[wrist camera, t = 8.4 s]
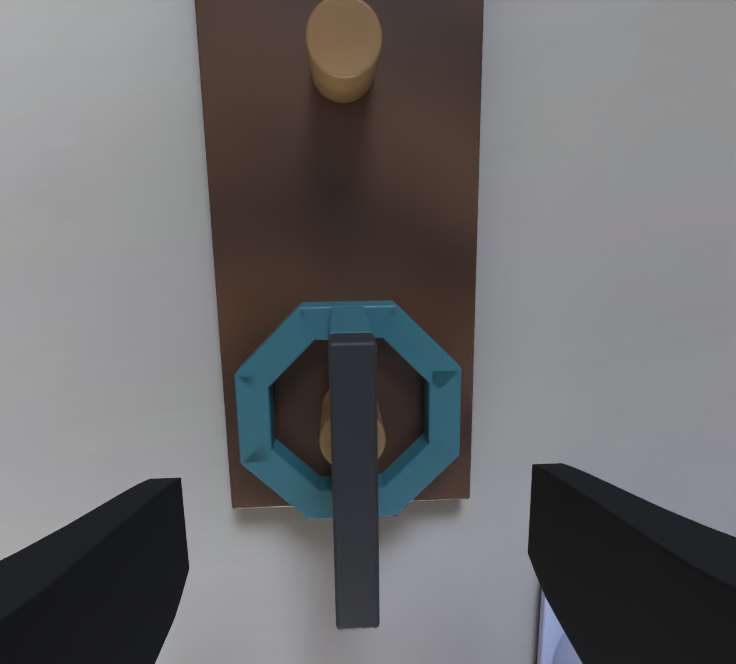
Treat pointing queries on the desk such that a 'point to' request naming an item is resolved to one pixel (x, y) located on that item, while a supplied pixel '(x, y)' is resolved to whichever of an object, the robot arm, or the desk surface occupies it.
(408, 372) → the rack
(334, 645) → the desk surface
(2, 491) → the desk surface
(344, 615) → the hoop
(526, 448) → the desk surface
